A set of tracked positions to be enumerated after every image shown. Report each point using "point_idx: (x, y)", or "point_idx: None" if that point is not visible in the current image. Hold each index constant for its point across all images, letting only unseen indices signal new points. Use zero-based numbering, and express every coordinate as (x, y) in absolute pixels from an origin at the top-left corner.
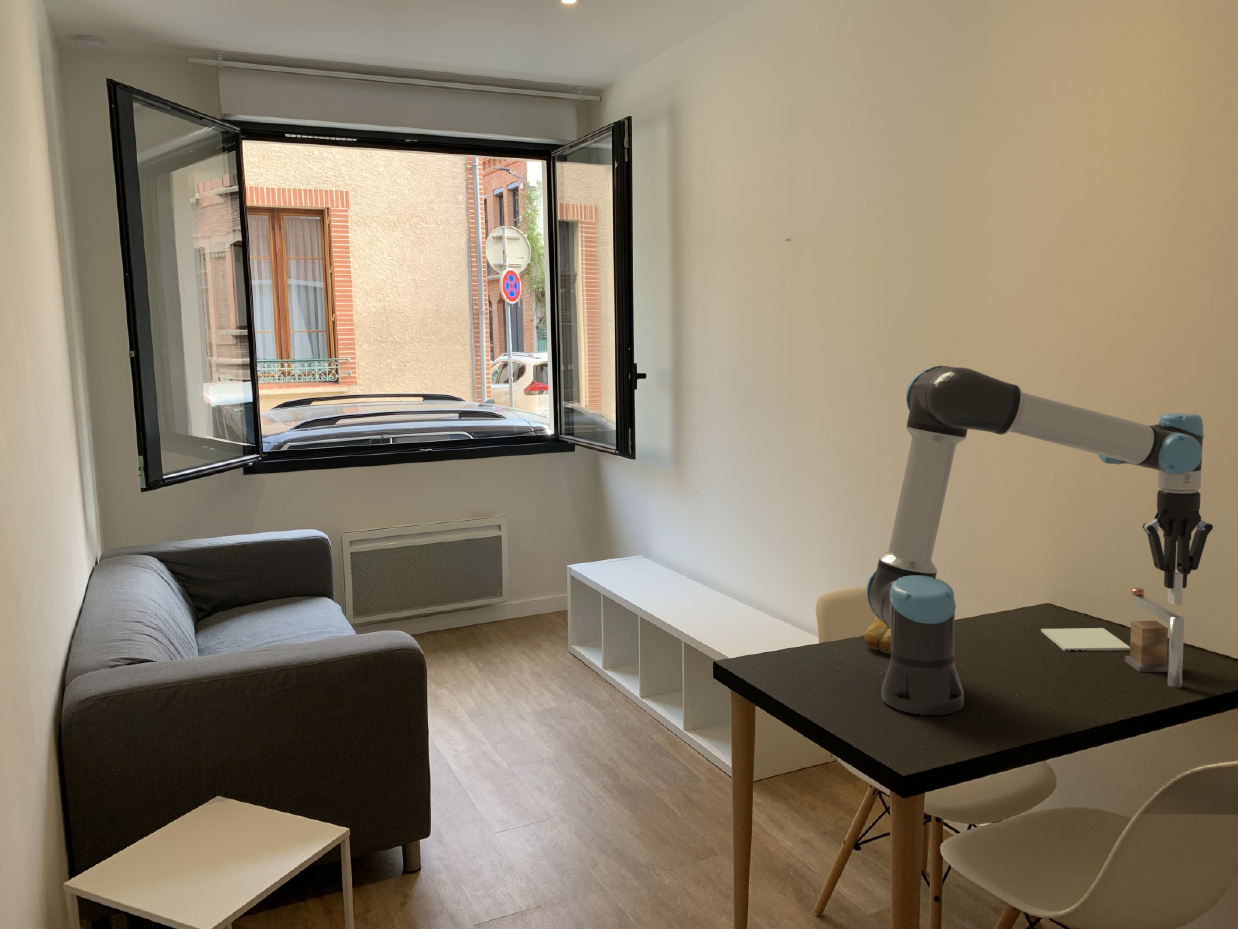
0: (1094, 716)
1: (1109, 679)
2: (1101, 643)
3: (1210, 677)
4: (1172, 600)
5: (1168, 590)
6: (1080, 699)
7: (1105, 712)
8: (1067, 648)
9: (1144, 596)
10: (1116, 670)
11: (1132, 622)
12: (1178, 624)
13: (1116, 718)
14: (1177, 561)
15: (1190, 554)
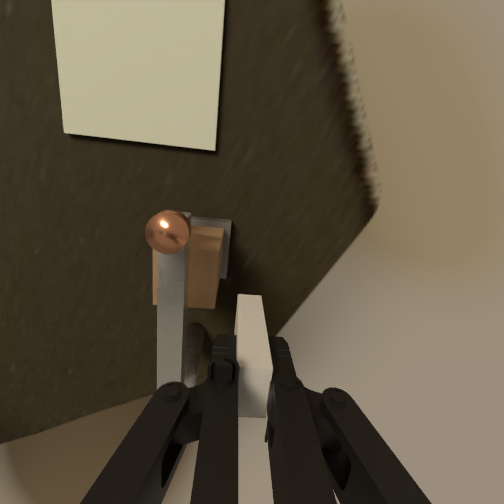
0: (31, 414)
1: (103, 296)
2: (163, 109)
3: (272, 305)
4: (235, 327)
5: (237, 317)
6: (28, 365)
7: (50, 404)
8: (71, 133)
9: (183, 253)
10: (133, 258)
11: (153, 254)
12: None
13: (59, 420)
14: (276, 424)
15: (356, 479)
